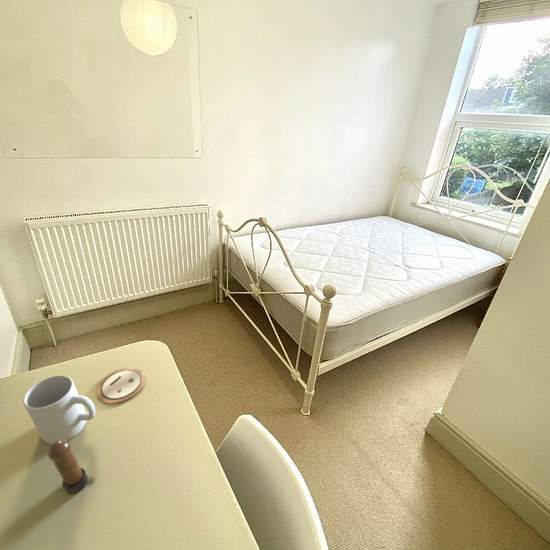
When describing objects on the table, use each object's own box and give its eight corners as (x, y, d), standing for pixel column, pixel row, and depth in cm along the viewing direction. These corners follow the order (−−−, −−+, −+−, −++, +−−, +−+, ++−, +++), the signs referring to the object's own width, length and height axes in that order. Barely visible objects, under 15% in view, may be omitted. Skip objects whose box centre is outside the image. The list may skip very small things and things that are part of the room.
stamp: (61, 488, 56) (38, 449, 50) (79, 470, 59) (60, 431, 53) (74, 498, 55) (52, 459, 49) (92, 478, 58) (74, 439, 52)
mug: (31, 444, 63) (11, 408, 58) (57, 408, 70) (41, 374, 65) (90, 445, 63) (75, 410, 58) (110, 409, 71) (98, 375, 65)
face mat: (86, 393, 74) (86, 391, 74) (123, 363, 83) (123, 361, 83) (119, 410, 70) (119, 409, 70) (155, 377, 79) (154, 375, 79)
